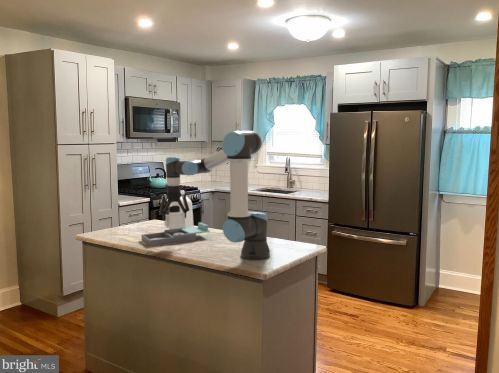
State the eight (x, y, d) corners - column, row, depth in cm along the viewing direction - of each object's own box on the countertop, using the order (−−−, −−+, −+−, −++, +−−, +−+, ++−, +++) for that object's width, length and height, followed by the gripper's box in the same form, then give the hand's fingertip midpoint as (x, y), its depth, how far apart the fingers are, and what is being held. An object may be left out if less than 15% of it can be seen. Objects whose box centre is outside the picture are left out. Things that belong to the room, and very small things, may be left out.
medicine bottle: (183, 226, 254) (183, 205, 253) (176, 228, 248) (175, 207, 246) (173, 225, 257) (173, 204, 256) (165, 227, 251) (165, 206, 250)
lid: (209, 231, 273) (209, 225, 273) (189, 234, 267) (189, 228, 266) (201, 227, 284) (201, 221, 283) (181, 230, 277) (181, 224, 277)
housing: (196, 240, 267) (196, 232, 267) (150, 246, 253) (150, 238, 253) (185, 235, 281) (185, 227, 280) (141, 240, 267) (141, 232, 266)
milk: (185, 233, 285) (184, 192, 281) (169, 232, 289) (168, 191, 285) (193, 229, 296) (193, 190, 293) (177, 228, 300) (177, 189, 296)
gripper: (189, 183, 259) (190, 221, 261) (151, 185, 247) (153, 226, 250) (194, 184, 252) (195, 223, 255) (156, 187, 241) (157, 228, 244)
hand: (174, 225), depth 252 cm, fingers closed on medicine bottle, 9 cm apart
